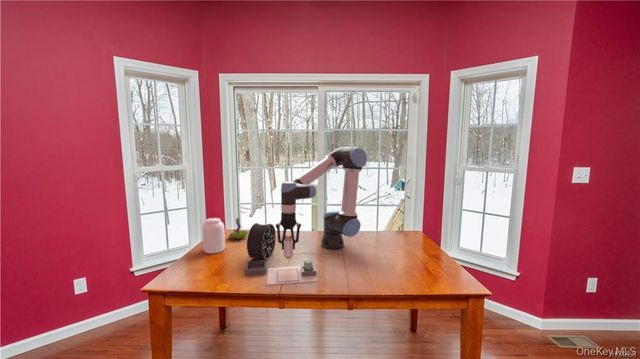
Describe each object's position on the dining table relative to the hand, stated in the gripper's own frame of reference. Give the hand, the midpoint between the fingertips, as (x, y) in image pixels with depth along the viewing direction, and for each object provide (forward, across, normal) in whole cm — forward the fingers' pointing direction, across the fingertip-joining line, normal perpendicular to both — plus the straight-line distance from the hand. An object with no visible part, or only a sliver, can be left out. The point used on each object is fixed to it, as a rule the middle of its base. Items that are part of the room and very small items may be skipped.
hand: (288, 255), depth 142 cm
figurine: (+8, +34, -53) cm, 63 cm away
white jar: (+8, +45, -32) cm, 56 cm away
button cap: (+5, -10, +7) cm, 13 cm away
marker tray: (+8, +17, 0) cm, 18 cm away
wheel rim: (+8, +15, -17) cm, 24 cm away
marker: (+2, 0, 0) cm, 2 cm away
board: (+8, -2, +7) cm, 11 cm away
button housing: (+7, -10, +7) cm, 14 cm away
